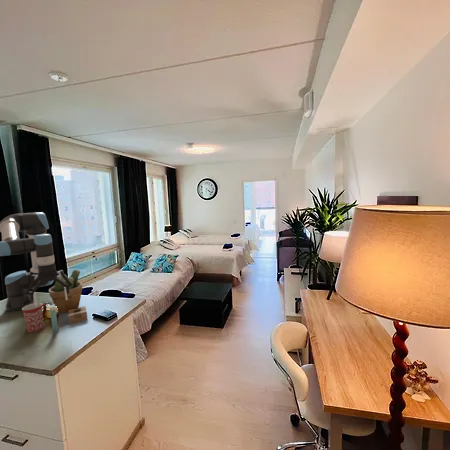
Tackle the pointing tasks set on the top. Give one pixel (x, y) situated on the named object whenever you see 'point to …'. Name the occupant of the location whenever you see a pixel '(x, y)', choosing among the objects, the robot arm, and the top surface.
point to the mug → (34, 316)
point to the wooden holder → (77, 315)
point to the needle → (54, 319)
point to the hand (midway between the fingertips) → (51, 302)
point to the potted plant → (73, 296)
